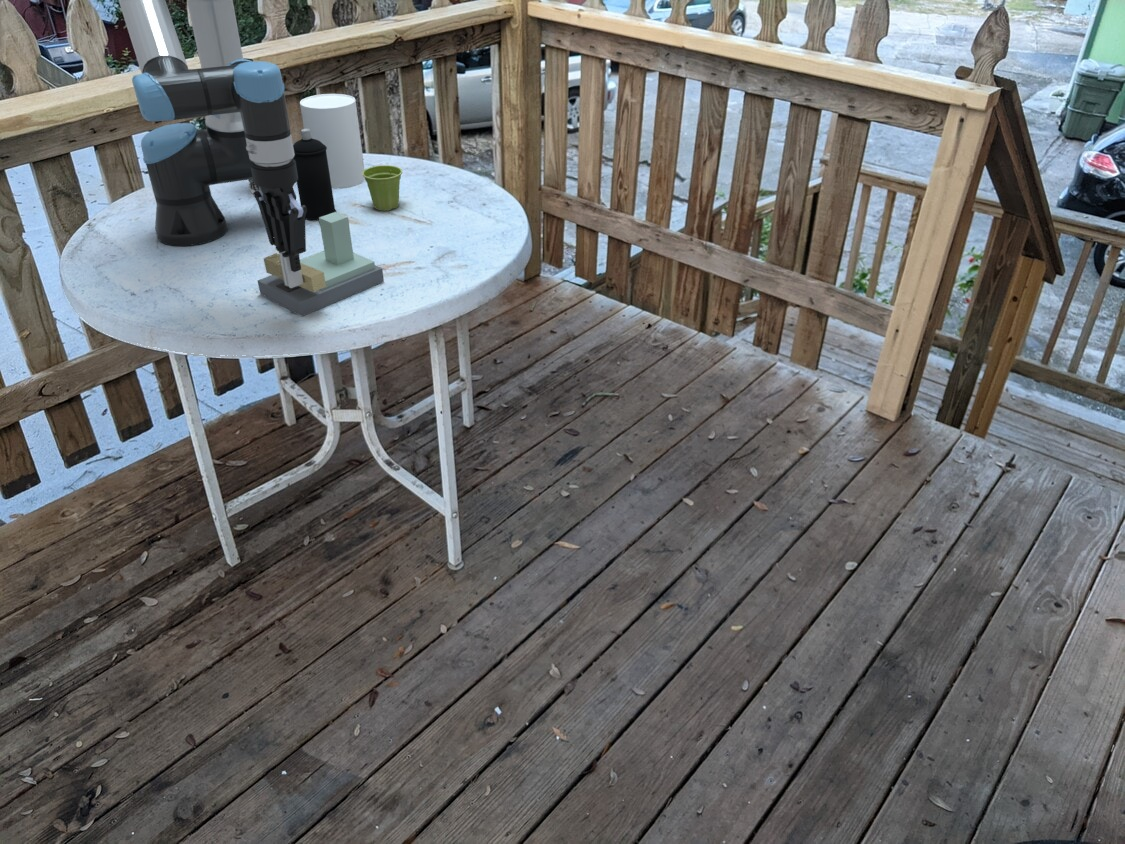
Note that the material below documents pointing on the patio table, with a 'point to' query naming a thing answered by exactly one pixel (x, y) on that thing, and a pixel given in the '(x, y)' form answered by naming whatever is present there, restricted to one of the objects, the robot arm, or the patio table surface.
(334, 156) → the canister
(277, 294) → the plate
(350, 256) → the cover
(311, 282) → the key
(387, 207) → the plant pot
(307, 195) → the aerosol can
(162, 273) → the patio table surface
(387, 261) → the patio table surface
